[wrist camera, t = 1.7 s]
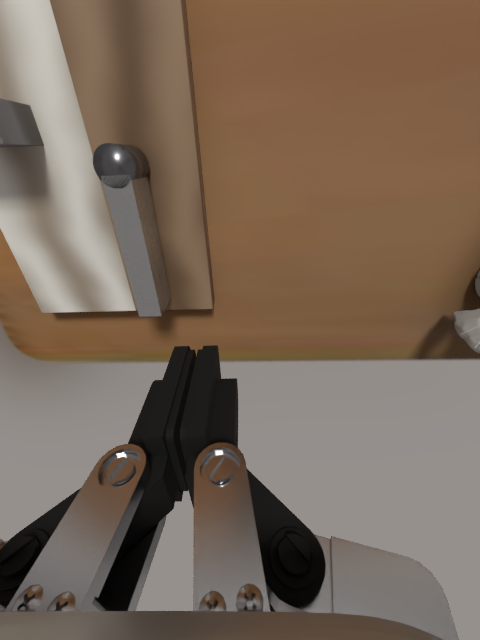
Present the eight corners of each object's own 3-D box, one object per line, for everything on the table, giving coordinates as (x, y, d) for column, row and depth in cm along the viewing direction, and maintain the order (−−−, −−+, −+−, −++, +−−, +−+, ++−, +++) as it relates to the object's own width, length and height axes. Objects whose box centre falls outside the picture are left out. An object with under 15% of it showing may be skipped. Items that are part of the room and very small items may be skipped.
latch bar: (110, 145, 20) (87, 143, 17) (145, 144, 20) (127, 142, 17) (148, 298, 27) (135, 316, 24) (173, 298, 26) (164, 316, 24)
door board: (178, -71, 16) (147, -177, 11) (214, 299, 29) (207, 330, 24) (-109, -51, 17) (-267, -143, 11) (53, 303, 30) (14, 334, 25)
